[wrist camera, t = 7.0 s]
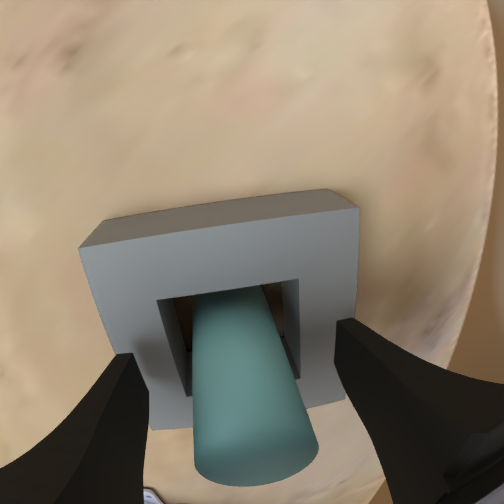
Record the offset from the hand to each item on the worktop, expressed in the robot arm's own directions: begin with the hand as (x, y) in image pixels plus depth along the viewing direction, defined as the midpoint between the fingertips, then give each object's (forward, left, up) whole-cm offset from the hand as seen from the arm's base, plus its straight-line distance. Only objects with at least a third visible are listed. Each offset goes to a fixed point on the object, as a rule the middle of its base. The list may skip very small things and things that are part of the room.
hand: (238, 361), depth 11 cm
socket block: (0, 0, -4) cm, 4 cm away
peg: (0, 0, -4) cm, 4 cm away
